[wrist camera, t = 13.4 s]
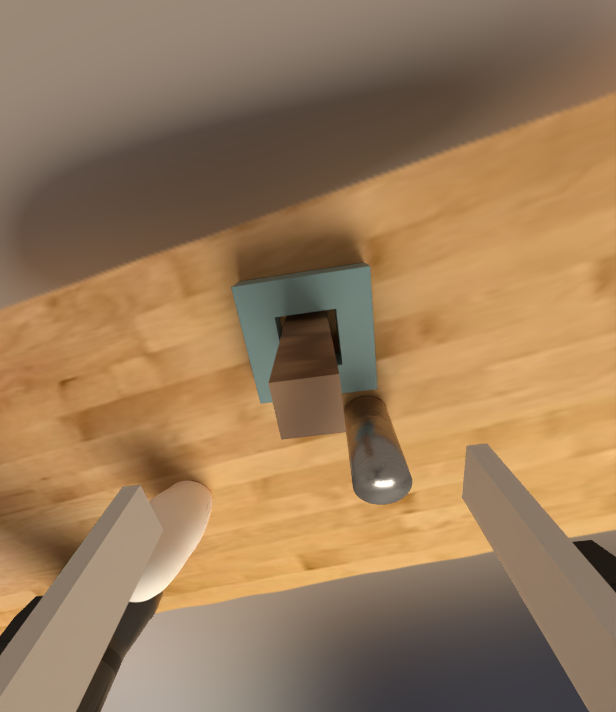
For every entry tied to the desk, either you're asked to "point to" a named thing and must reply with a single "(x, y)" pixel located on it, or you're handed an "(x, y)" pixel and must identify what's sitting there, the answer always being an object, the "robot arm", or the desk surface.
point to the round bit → (375, 453)
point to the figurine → (174, 534)
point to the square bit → (307, 379)
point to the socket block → (303, 295)
